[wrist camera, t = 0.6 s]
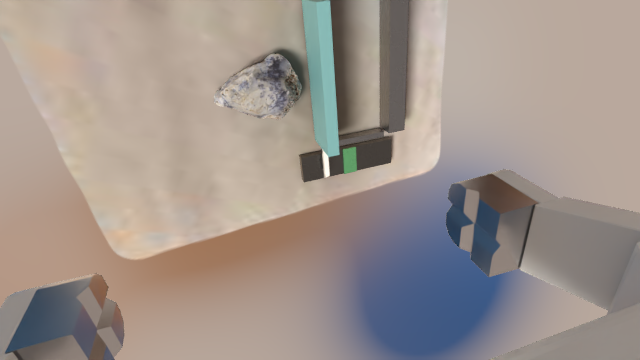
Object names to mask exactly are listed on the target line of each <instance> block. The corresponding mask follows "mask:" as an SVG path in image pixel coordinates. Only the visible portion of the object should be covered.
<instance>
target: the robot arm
mask: <svg viewBox="0 0 640 360" xmlns="http://www.w3.org/2000/svg"><path fill="white" fill-rule="evenodd" d="M448 199H449V201H450V202H451V203H452V206H451V207H450V209H449V210H448V212H447V213H446V227H447V230H448V233H449V235H450V237H451V239H452V241H453V242H454V243H455V244H456V245H457V246H458V247H459V248H461V249H464V250H467V251H469V252H470V255H471V260H472V261H473V262H474V263H475V264H476V265H477V266H478V267H479V268H480V269H481V270H482V271H483V272H484V273H485V274H486V275H487V276H488V277H491V276H494V275H498V274H501V273H505V272H508V271H512V270H515V269H519V268H520V270H521V271H523V272H526V273H528V274H530V275H532V276H535V277H536V278H539V279H541V280H543V281H545V282H547V283H549V284H552V285H554V286H556V287H558V288H560V289H562V290H565V291H567V292H569V293H571V294H574V295H576V296H578V297H580V298H582V299H584V300H587V301H589V302H591V303H593V304H595V305H597V306H599V307H602V308H604V309H606V310H608V313H607V315H606V316H604V317H601V318H598V319H596V320H593V321H590V322H588V323H585V324H582V325H580V326H577V327H574V328H572V329H569V330H566V331H564V332H561V333H558V334H556V335H553V336H551V337H548V338H545V339H542V340H540V341H537V342H535V343H532V344H529V345H527V346H524V347H521V348H519V349H516V350H514V351H511V352H508V353H506V354H503V355H500V356H498V357H495V358H492V359H490V360H640V213H638V212H633V211H629V210H624V209H619V208H615V207H610V206H605V205H600V204H596V203H591V202H586V201H582V200H577V199H572V198H568V197H562V198H558V197H556V196H554V195H553V194H551V193H549V192H548V191H546V190H544V189H542V188H540V187H539V186H537V185H535V184H533V183H532V182H530V181H529V180H527V179H525V178H523V177H522V176H520V175H518V174H516V173H515V172H513V171H511V170H506V169H503V170H500V171H496V172H493V173H489V174H487V175H484V176H480V177H477V178H473V179H469V180H465V181H461V182H458V183H454V184H452V185H451V186H450V189H449V192H448ZM107 291H108V286H107V284H106V282H105V280H104V279H103V277H102V275H99V274H97V273H95V274H91V275H87V276H83V277H78V278H74V279H69V280H65V281H61V282H56V283H52V284H48V285H43V286H42V287H35V288H31V289H27V290H23V291H20V292H15V293H13V294H12V295H10V296H8V297H7V298H6V300H5V302H4V303H3V305H2V306H1V308H0V360H115V359H114V357H115V356H116V354H117V353H118V352H119V351H120V350H121V348H122V346H123V339H124V322H123V318H122V315H121V311H120V309H119V307H118V305H117V303H116V302H114V301H112V300H110V299H107V298H106V295H107Z"/></svg>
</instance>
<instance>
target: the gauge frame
mask: <svg viewBox="0 0 640 360" xmlns="http://www.w3.org/2000/svg"><path fill="white" fill-rule="evenodd" d="M408 9H409V0H380V126H381V127H382V128H383V129H384V130H386V131H387V132H388V133H392V132H397V131H401V130H404V125H405V96H406V67H407V38H408ZM379 137H384V131H382V130H381V129H380V128H376V129H371V130H366V131H361V132H357V133H352V134H347V135H342V136H338V138H339V146H341V145H345V144H350V143H355V142H360V141H365V140H369V139H374V138H379ZM339 154H340V155H336V156H331V157H328V159H329V172H330V176H334V175H338V174H343V173H344V174H346V173H350V172H355V171H357V170H361V169H365V168H369V167H374V166H378V165H383V164H387V163H391V138H390V137H384V138H379V139H374V140H369V141H365V142H360V143H355V144H350V145H345V146H341V147H339ZM299 157H300V165H301V173H302V180H303V181H304V182H307V181H312V180H316V179H321V178H326V176H325V174H324V162H323V151H322V150H321V151H317V152H312V153H307V154H302V155H299ZM330 176H328V177H330Z"/></svg>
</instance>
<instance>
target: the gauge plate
mask: <svg viewBox="0 0 640 360" xmlns="http://www.w3.org/2000/svg"><path fill="white" fill-rule="evenodd" d="M302 7H303V18H304V28H305V39H306V49H307V59H308V70H309V80H310V90H311V101H312V111H313V121H314V132H315V140H316V141H317V143H318V144H319V145H320V147H321V148H322V151H323V162H324V174H325V176H326V177H328V176H330V172H329V159H328V157H331V156H336V155H340V154H339V138H338V122H337V106H336V90H335V73H334V57H333V41H332V25H331V9H330V0H302Z"/></svg>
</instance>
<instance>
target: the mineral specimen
mask: <svg viewBox="0 0 640 360" xmlns="http://www.w3.org/2000/svg"><path fill="white" fill-rule="evenodd" d="M221 88H222V89H220V90H217V91H216V93H215V95H214V102H215V104H217V105H218V106H220V107H222V106H227V107H229V108H231V109H233V108H234V109H236V110H238V111H240V112H243V113H246V114H247V115H252V116H254V117H258V118H260V119H263V118H268V117H269V118H271V119H273V118H275V119H276V120H279V119H281V118H283V117H284V116H285V115H286V113H287V112H288V111H289V109H290V108H291V107H293V106H294V105H295V101H296V100H298V98H299V95H300V93H301V89H302V84H301V83H300V82H299V79H298V76H297V75H296V73H295V71H294V70H293V69H292V66H291V64H290V62H289V61H288V60H287V59H286V58H285V57H283V56H282V55H280V54H278V53H277V54H273V53H272V54H270V55H269V56H267V57H266V58H265V59H264V61H263V62H261V63H258V64H256V65H252V66H251V67H247V68H245V69H244V70H242V71H241V72H239V73H237V74H236V75H234V76H231V77H230V79H229V80H228V81H227V82H225V84H224V85H223V86H222V87H221Z"/></svg>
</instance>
